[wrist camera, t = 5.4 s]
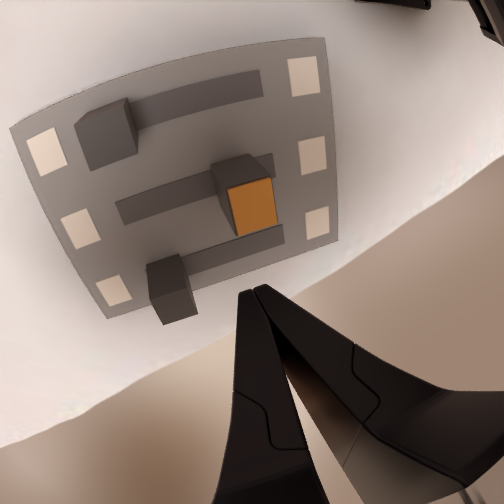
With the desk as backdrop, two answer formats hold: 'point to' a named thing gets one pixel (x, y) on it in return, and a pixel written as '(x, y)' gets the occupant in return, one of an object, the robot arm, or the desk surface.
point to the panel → (185, 171)
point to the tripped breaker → (245, 193)
